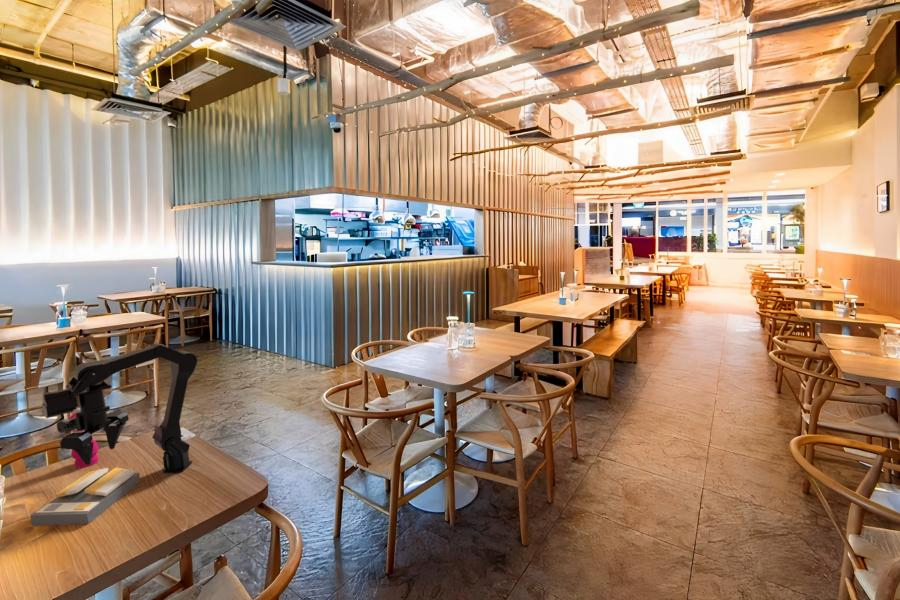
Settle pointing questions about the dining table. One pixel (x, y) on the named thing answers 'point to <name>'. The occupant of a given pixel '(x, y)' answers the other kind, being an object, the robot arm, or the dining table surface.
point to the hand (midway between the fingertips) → (100, 456)
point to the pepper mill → (78, 461)
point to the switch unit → (80, 505)
